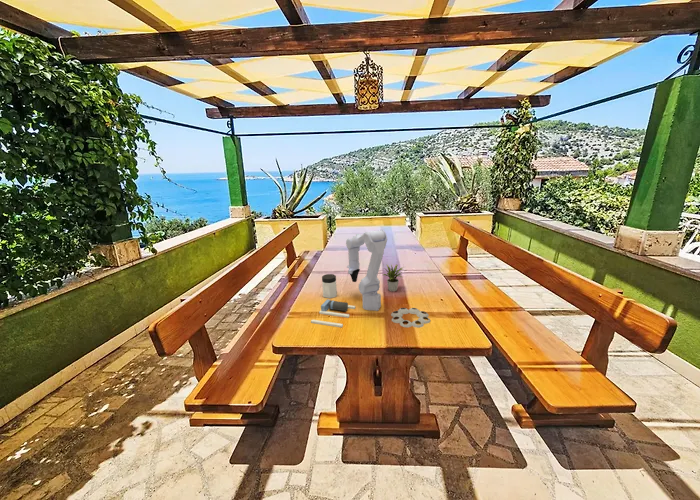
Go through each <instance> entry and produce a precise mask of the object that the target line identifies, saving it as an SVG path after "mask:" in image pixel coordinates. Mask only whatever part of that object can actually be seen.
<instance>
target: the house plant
mask: <svg viewBox="0 0 700 500" xmlns="http://www.w3.org/2000/svg"><path fill="white" fill-rule="evenodd" d="M390 266H391V268H390ZM390 266H389V264H386V267H387V268H385V267H384V268H383V269H385V271H386V272H387V273H386V274H385V273H384V274H382V276H385V277H386V276H387V277H388V278H387V279H386V281H387V282H386V283H387V289H388V291H390V292H396V291H398V287H399V281H400V280H399V279H398V278H397V277H400V278H403V276H402V274H403V269H404V268H405V266H403V267H399V269H398V266H399V264H395V266H394V268H393V265H392V264H390ZM400 271H402V272H400Z"/></svg>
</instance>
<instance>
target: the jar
mask: <svg viewBox="0 0 700 500" xmlns="http://www.w3.org/2000/svg"><path fill="white" fill-rule="evenodd" d="M321 280H322V281H321V283H322V284H321V285H322V286H321V287H322V297H323V298H326V299H332V298H335V297H338V296H337V294H338V291H337V276H336V274H333V273H327V274H324V275H322V276H321Z"/></svg>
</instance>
